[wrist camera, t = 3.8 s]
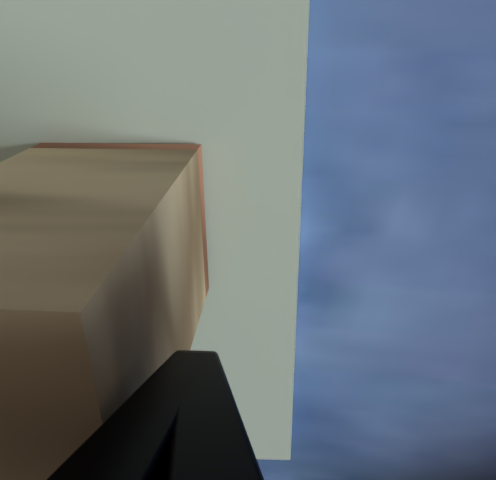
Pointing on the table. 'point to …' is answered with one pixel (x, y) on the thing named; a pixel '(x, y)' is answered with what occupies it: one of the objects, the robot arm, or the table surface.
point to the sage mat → (189, 132)
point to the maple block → (92, 287)
